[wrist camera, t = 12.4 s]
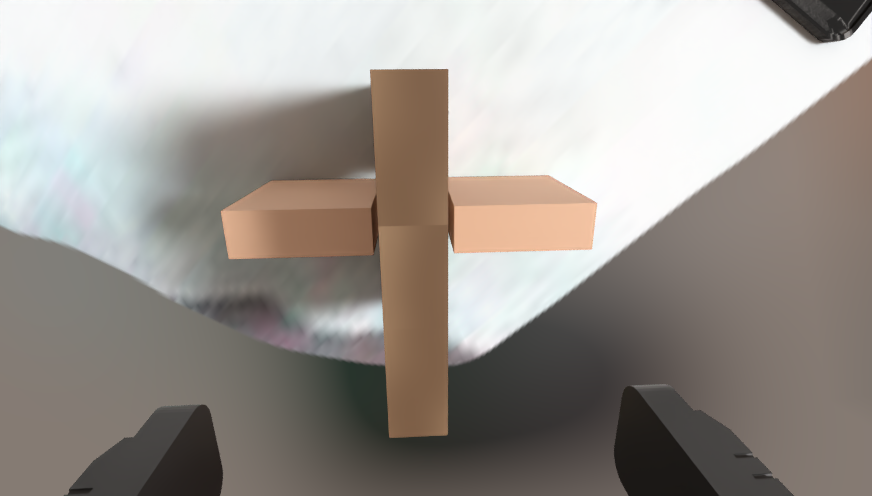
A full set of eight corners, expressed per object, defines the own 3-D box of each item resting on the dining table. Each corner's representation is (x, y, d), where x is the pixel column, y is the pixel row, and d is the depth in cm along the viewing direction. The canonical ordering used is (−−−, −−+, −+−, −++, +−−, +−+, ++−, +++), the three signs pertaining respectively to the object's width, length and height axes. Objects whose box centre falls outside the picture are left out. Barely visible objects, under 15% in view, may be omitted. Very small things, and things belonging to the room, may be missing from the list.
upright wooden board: (397, 293, 31) (389, 438, 18) (389, 83, 27) (370, 69, 14) (431, 292, 31) (447, 434, 18) (428, 82, 27) (447, 69, 14)
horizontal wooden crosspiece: (276, 216, 29) (228, 259, 21) (271, 180, 28) (220, 211, 21) (546, 210, 30) (591, 249, 22) (548, 175, 29) (596, 203, 22)
